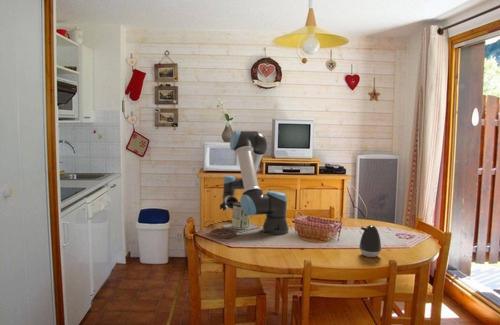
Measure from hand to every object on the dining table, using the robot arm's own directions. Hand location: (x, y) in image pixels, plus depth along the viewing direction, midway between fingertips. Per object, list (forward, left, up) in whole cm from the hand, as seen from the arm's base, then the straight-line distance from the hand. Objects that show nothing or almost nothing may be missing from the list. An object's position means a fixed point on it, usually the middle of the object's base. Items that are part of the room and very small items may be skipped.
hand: (238, 209), depth 241 cm
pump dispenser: (-81, -10, -10) cm, 82 cm away
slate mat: (-4, +2, -10) cm, 11 cm away
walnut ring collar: (-8, +20, -10) cm, 23 cm away
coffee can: (-5, +4, -9) cm, 11 cm away
